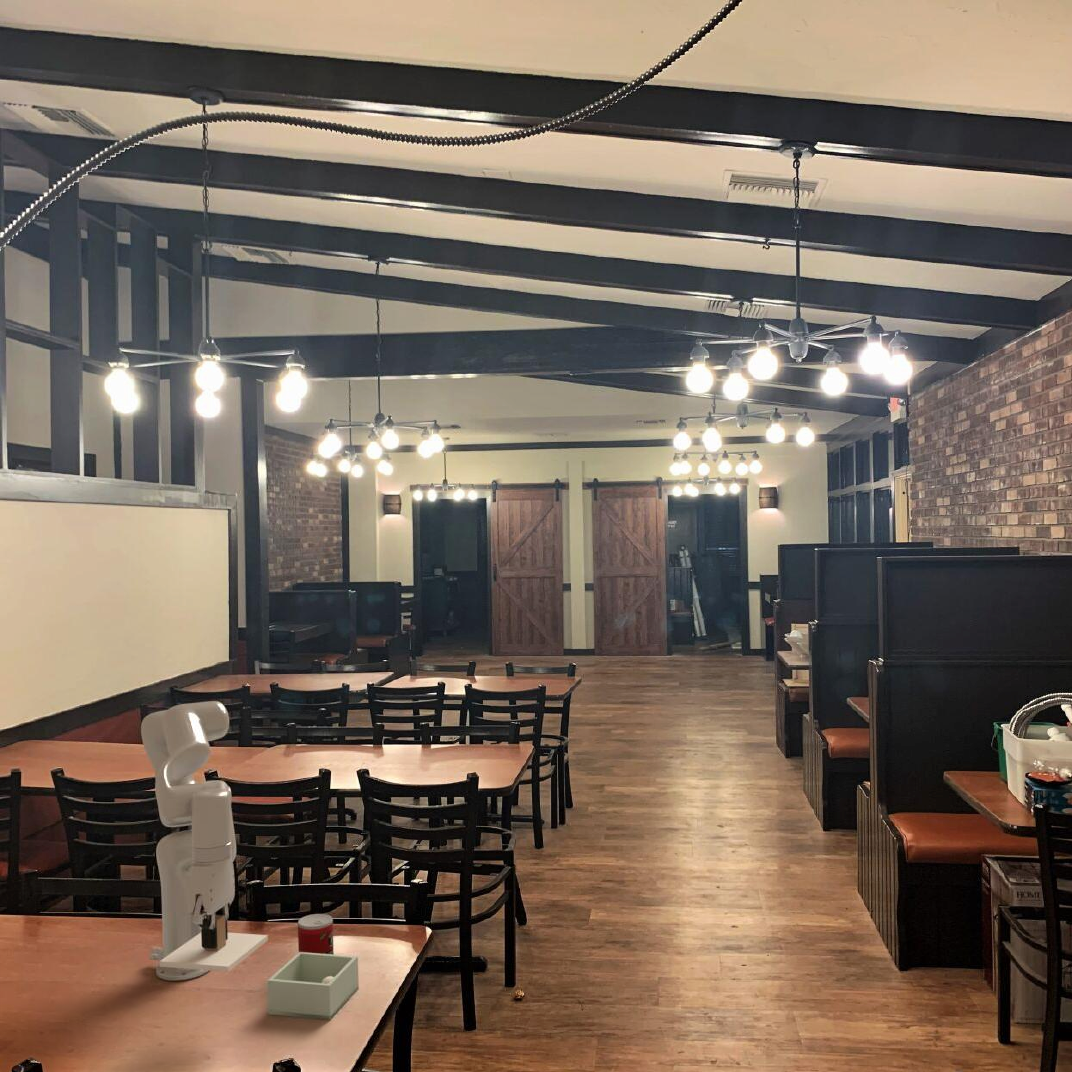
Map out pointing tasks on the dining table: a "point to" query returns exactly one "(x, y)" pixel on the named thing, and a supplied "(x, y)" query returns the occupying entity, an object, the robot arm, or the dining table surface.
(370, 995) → the dining table surface
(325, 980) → the ball cream
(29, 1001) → the dining table surface
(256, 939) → the lid
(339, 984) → the box
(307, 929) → the canned food
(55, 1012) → the dining table surface
